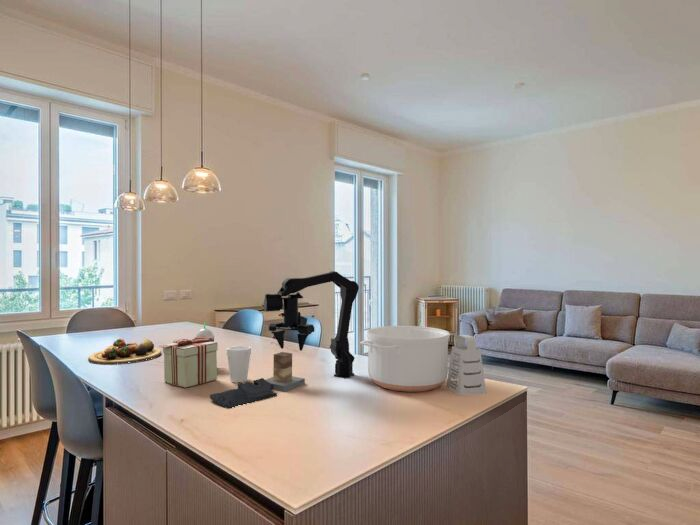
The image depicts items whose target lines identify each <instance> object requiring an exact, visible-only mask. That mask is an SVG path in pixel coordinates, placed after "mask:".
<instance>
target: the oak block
mask: <svg viewBox="0 0 700 525" xmlns="http://www.w3.org/2000/svg"><path fill="white" fill-rule="evenodd" d="M272 370H273V376H272V377H273V381H279V382H286V381H289V380H292V376H293V366H292V367H289V368H286V369H280V368H274V366H273V369H272Z"/></svg>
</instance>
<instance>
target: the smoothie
mask: <svg viewBox="0 0 700 525" xmlns="http://www.w3.org/2000/svg"><path fill="white" fill-rule="evenodd" d="M198 336H206V337H207V338H208V339H210V340H211V341H210V342H215V335H214V333H213V332H212V330H210V329H209V328H206V322H203V328H201V329H199V330H198V331H197V332H196V334H195V336H194V338H196V337H198Z"/></svg>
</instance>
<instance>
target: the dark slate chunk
mask: <svg viewBox="0 0 700 525" xmlns="http://www.w3.org/2000/svg"><path fill="white" fill-rule="evenodd" d="M265 380H266V379H265V378H262V377H261V378H258V379H255V380H252V382H251V381H245V382H241V383H237V388H232V389H228V390H225V391H220V392H216V393H211V394H210V395H209V399H210V400H212V402H213V401H214V402H215V403H217V404H218V405H219V406H221V407H223V408H224V407H227V408H226V409H229V408H230V409H233V408H232V407H234V408H236V407H235V406H238V405H241V406H244V405H243V404H245V405H248V404H247V403H249V404H253V403H256V402H255V401H257V402H260V401H264V400H266V399H267V400H268V399H271V398H273V396H274V397H277V396H278V394H277V393H276V392H274V389H273V385H272V384H271V383H269V382H267V381H265ZM270 397H271V398H270ZM263 399H264V400H263ZM259 400H260V401H259ZM252 402H253V403H252ZM238 407H239V406H238Z"/></svg>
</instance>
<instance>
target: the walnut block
mask: <svg viewBox="0 0 700 525" xmlns="http://www.w3.org/2000/svg"><path fill="white" fill-rule="evenodd" d="M273 367H274V368H280V369H286V368H289V367H292V368H293V353H292V352H286V351H285V352H284V351H280V352H277V353H274V354H273Z"/></svg>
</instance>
